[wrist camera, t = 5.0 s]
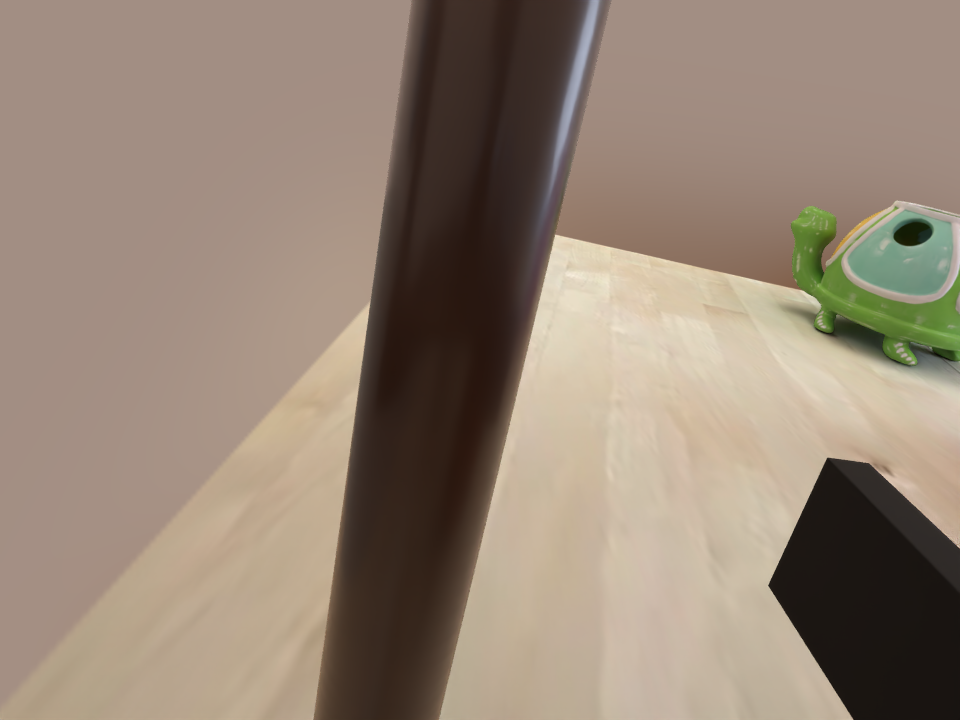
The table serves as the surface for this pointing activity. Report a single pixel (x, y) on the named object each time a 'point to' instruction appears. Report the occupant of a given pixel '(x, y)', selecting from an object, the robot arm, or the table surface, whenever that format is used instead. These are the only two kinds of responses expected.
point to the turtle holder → (886, 276)
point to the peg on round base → (449, 332)
